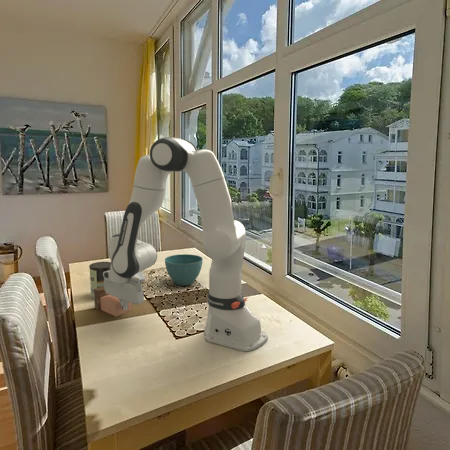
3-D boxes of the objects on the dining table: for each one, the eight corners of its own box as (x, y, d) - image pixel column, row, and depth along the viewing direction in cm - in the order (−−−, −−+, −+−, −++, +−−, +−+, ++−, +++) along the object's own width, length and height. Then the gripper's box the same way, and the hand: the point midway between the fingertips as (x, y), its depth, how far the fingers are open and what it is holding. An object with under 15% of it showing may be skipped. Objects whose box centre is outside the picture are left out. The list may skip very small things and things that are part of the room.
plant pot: (158, 286, 170) (157, 261, 168) (175, 275, 187) (175, 252, 185) (193, 291, 164) (193, 265, 162) (207, 279, 181) (208, 256, 179)
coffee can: (119, 292, 162) (118, 262, 159) (107, 300, 152) (106, 268, 149) (98, 290, 164) (97, 260, 161) (85, 298, 154) (84, 267, 151)
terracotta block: (132, 310, 143) (132, 298, 142) (115, 316, 137) (115, 304, 136) (117, 303, 149) (117, 292, 148) (100, 309, 143) (100, 297, 142)
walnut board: (139, 295, 158) (139, 278, 156) (99, 309, 142) (98, 290, 141) (135, 294, 160) (134, 277, 158) (94, 307, 144) (93, 289, 143)
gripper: (147, 278, 132) (148, 313, 134) (114, 268, 144) (115, 300, 147) (133, 282, 127) (134, 319, 129) (100, 271, 139) (102, 305, 142)
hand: (124, 309), depth 138 cm, fingers closed
